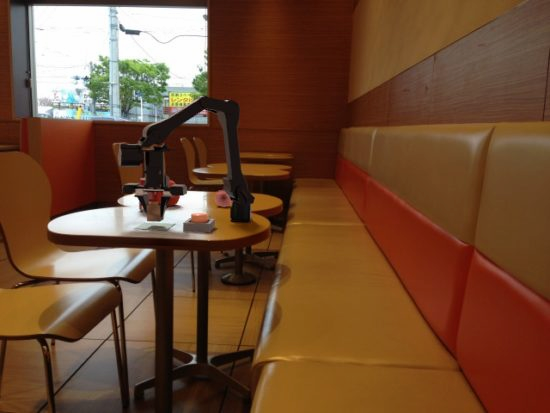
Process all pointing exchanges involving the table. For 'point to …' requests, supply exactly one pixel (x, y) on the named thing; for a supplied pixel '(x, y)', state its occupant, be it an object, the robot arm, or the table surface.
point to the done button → (199, 218)
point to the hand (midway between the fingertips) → (155, 217)
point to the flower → (222, 199)
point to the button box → (198, 226)
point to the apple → (173, 200)
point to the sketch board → (155, 226)
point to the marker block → (154, 212)
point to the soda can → (152, 195)
